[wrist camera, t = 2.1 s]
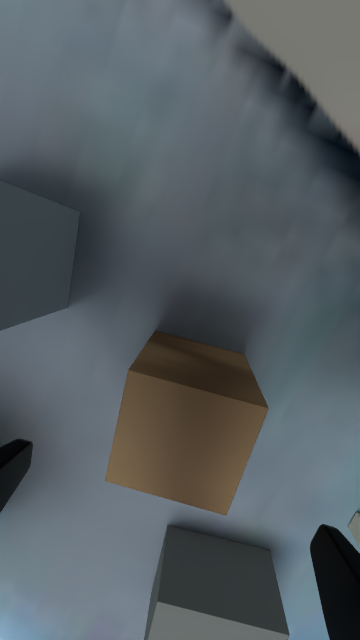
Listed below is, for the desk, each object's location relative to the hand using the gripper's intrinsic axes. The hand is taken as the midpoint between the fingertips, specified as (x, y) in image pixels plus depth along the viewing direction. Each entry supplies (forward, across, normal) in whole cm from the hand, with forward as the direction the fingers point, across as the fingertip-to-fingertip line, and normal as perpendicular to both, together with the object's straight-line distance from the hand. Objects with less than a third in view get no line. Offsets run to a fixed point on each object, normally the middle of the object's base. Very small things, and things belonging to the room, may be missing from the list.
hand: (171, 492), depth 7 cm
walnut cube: (+7, 0, 0) cm, 7 cm away
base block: (+7, -5, +14) cm, 16 cm away
